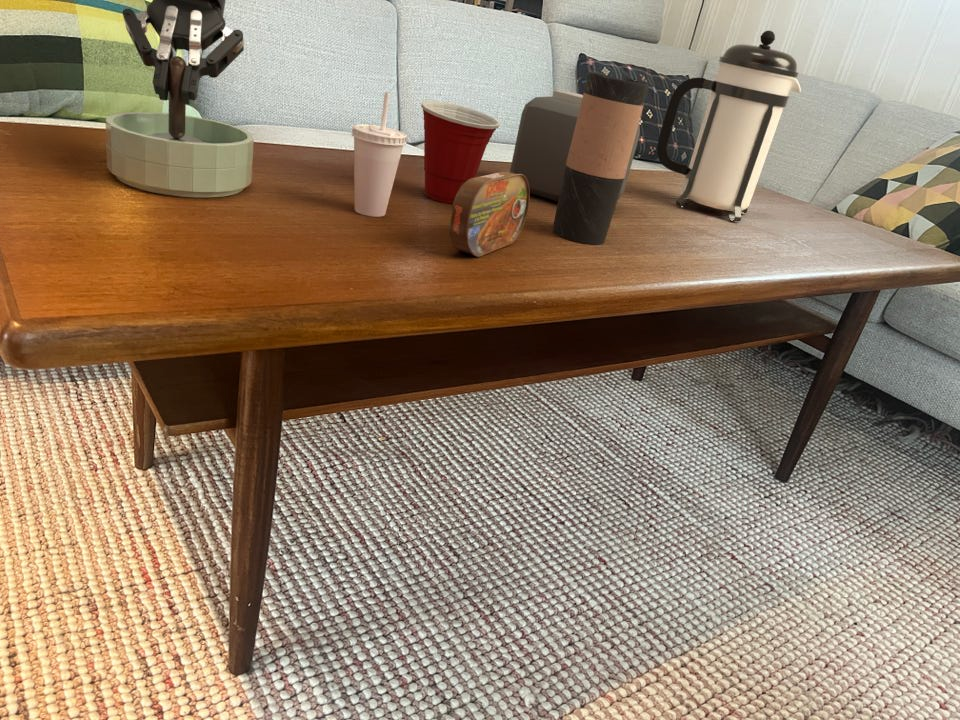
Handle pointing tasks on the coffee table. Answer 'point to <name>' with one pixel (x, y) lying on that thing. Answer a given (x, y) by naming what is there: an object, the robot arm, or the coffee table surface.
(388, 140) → the smoothie
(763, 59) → the coffee press
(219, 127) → the bowl
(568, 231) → the travel mug
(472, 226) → the tin
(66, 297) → the coffee table surface
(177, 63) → the wooden handle stamp
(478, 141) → the plastic cup
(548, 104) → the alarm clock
